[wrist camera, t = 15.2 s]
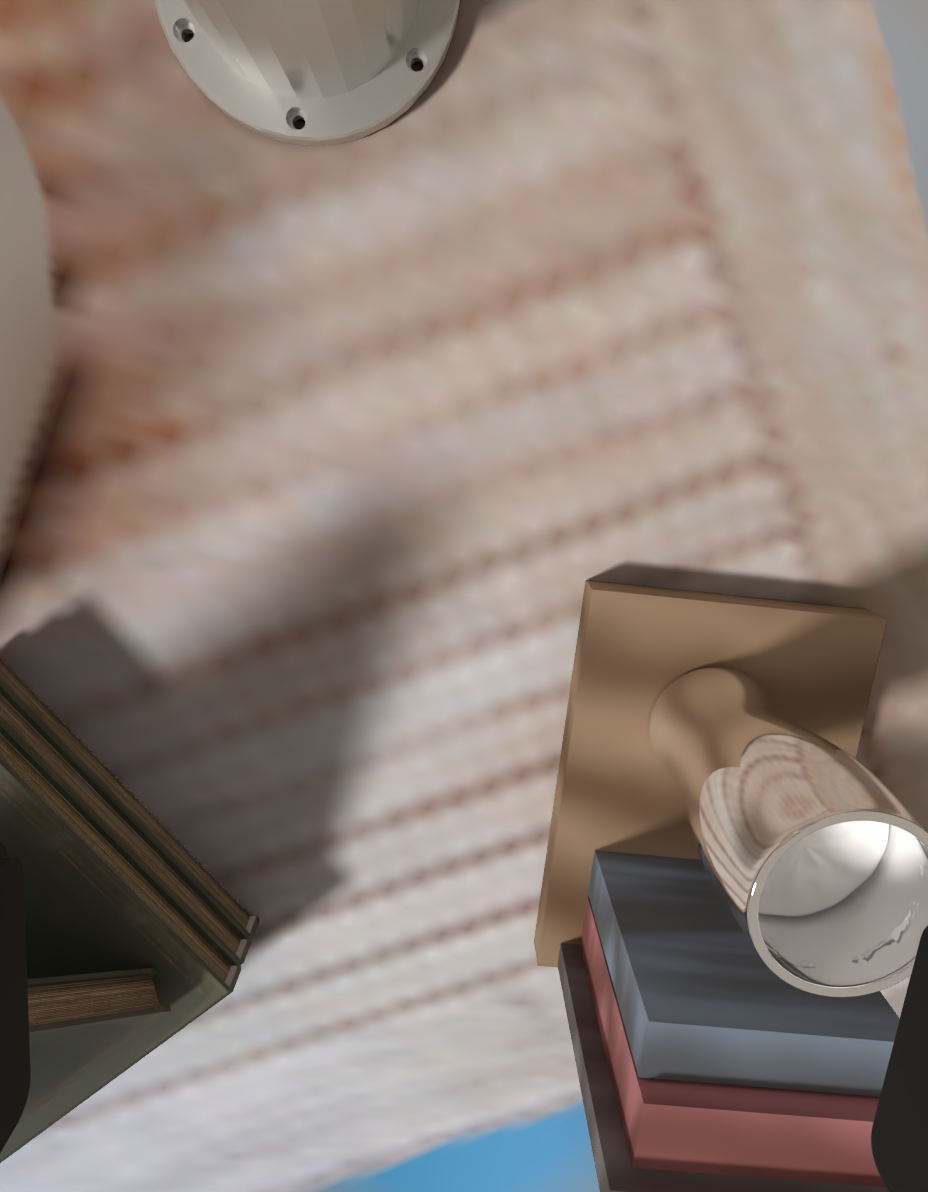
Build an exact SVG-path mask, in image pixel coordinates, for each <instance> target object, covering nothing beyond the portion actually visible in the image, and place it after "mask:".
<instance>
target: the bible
mask: <svg viewBox="0 0 928 1192" xmlns="http://www.w3.org/2000/svg"><path fill="white" fill-rule="evenodd" d="M0 843H2V844H3V845H4V846H5V848H6V850H7V853H8V857H13V858H18V859H19V860H20V861H21V863H22V866H23V873H24V901H25V929H26V958H27V986H28V1014H29V1043H30V1071H31V1079H30V1088H29V1094H28V1098H27V1102H26V1105H25V1108H24V1110H23V1113H22V1116H21V1118H20V1120H19V1122H18V1124H17V1125H16V1127H15V1129H14V1131H13V1132H12V1134H11V1136H10V1137H9V1139H8V1141H7V1143H6V1144H5V1146H4V1148H3V1150H2V1151H1V1153H0V1163H1V1162H2V1161H4V1160H5V1159H6V1158H8V1157H9V1156H10V1155H12V1154H13V1153H14V1152H16V1151H17V1150H19V1149H20V1148H21V1147H23V1146H24V1145H25V1144H27V1143H28V1142H29V1141H31V1140H32V1139H33V1138H35V1137H36V1136H38V1135H39V1134H40V1133H42V1132H43V1131H44V1130H46V1129H47V1128H48V1127H50V1126H51V1125H52V1124H54V1123H55V1122H56V1121H58V1120H59V1119H61V1118H62V1117H63V1116H65V1115H66V1114H67V1113H69V1112H70V1111H71V1110H73V1109H74V1108H75V1107H77V1106H78V1105H80V1104H81V1103H82V1102H84V1101H85V1100H86V1099H88V1098H89V1097H90V1096H92V1095H93V1094H94V1093H96V1092H97V1091H99V1090H100V1089H101V1088H103V1087H104V1086H105V1085H107V1084H108V1083H109V1082H111V1081H112V1080H113V1079H115V1078H116V1077H117V1076H119V1075H120V1074H122V1073H123V1072H124V1071H126V1070H127V1069H128V1068H130V1067H131V1066H132V1065H134V1064H135V1063H136V1062H138V1061H139V1060H141V1059H142V1058H143V1057H145V1056H146V1055H147V1054H149V1053H150V1052H151V1051H153V1050H154V1049H155V1048H157V1047H158V1046H159V1045H161V1044H162V1043H164V1042H165V1041H166V1040H168V1039H169V1038H170V1037H172V1036H173V1035H174V1034H176V1033H177V1032H178V1031H180V1030H181V1029H183V1028H184V1027H185V1026H187V1025H188V1024H189V1023H191V1022H192V1021H193V1020H195V1019H196V1018H197V1017H199V1016H200V1015H201V1014H203V1013H204V1012H206V1011H207V1010H208V1009H210V1008H211V1007H212V1006H214V1005H215V1004H216V1003H218V1002H219V1001H220V1000H222V999H223V998H225V997H226V996H227V995H229V994H230V993H231V992H233V990H234V987H235V984H236V982H237V979H238V976H239V974H240V971H241V966H240V965H241V964H243V963H244V960H245V957H246V955H247V952H248V949H249V947H250V944H251V941H250V939H251V938H252V937H253V936H254V933H255V930H256V928H257V925H258V922H259V919H258V917H257V916H250V915H249V914H248V913H247V912H246V911H245V910H244V909H243V908H242V907H241V906H240V905H239V904H238V903H237V902H236V901H235V900H234V899H233V898H232V897H231V896H230V895H229V894H228V893H227V892H226V891H225V890H224V889H223V888H222V887H221V886H220V885H219V884H218V883H217V882H216V880H215V879H214V878H213V877H212V876H211V875H210V874H209V873H208V872H207V871H206V870H205V869H204V868H203V867H202V866H201V865H200V864H199V863H198V862H197V861H196V860H195V859H194V858H193V857H192V856H191V855H190V854H189V853H188V852H187V851H186V850H185V849H184V848H183V847H182V846H181V845H180V844H179V842H178V841H177V840H176V839H175V838H174V837H173V836H172V835H171V834H170V833H169V832H168V831H167V830H166V829H165V828H164V827H163V826H162V825H161V824H160V823H159V822H158V821H157V820H156V819H155V818H154V817H153V816H152V815H151V814H150V813H149V812H148V811H147V810H146V809H145V808H144V807H143V805H142V804H141V803H140V802H139V801H138V800H137V799H136V798H135V797H134V796H133V795H132V794H131V793H130V792H129V791H128V790H127V789H126V788H125V787H124V786H123V785H122V784H121V783H120V782H119V781H118V780H117V779H116V778H115V777H114V776H113V775H112V774H111V773H110V772H109V771H108V770H107V769H106V767H105V766H104V765H103V764H102V763H101V762H100V761H99V760H98V759H97V758H96V757H95V756H94V755H93V754H92V753H91V752H90V751H89V750H88V749H87V748H86V747H85V746H84V745H83V744H82V743H81V742H80V741H79V740H78V739H77V738H76V737H75V736H74V735H73V734H72V733H71V732H70V730H69V729H68V728H67V727H66V726H65V725H64V724H63V723H62V722H61V721H60V720H59V719H58V718H57V717H56V716H55V715H54V714H53V713H52V712H51V711H50V710H49V709H48V708H47V707H46V706H45V705H44V704H43V703H42V702H41V701H40V700H39V699H38V698H37V697H36V696H35V695H34V694H33V692H32V691H31V690H30V689H29V688H28V687H27V686H26V685H25V684H24V683H23V682H22V681H21V680H20V679H19V678H18V677H17V676H16V675H15V674H14V673H13V672H12V671H11V670H10V669H9V668H8V667H7V666H6V665H5V664H4V663H3V662H2V661H1V660H0Z"/></svg>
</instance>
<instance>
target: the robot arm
mask: <svg viewBox="0 0 928 1192" xmlns="http://www.w3.org/2000/svg"><path fill="white" fill-rule="evenodd" d="M154 1H155V6H156V10H157V14H158V18H159V20H160V23H161V25H162V27H163V30H164V32H165V35H166V37H167V39H168V42H169V44H170V47H171V49H172V50H173V52H174V53H175V55H176V56H177V58H178V60H179V61H180V63H181V64H182V66H183V68H184V69H185V71H186V72H187V74H188V75H189V77H190V78H191V79H192V80H193V82H194V83H195V84H196V85H197V86H198V88H199V89H200V90H201V91H202V92H203V94H204V95H205V96H206V97H207V98H209V99H210V100H211V101H212V102H213V103H214V104H215V105H216V106H217V107H218V108H219V109H220V110H221V111H223V112H224V113H225V114H226V115H227V116H229V117H230V118H232V119H233V120H235V121H237V122H238V123H240V124H241V125H243V126H245V127H246V128H248V129H249V130H251V131H253V132H256V133H258V134H261V135H263V136H266V137H268V138H271V139H274V140H276V141H279V142H285V143H291V144H296V145H302V146H325V145H337V144H341V143H345V142H349V141H353V140H357V139H361V138H363V137H365V136H367V135H369V134H371V133H373V132H375V131H377V130H380V129H382V128H384V127H386V126H387V125H389V124H390V123H391V122H392V121H394V120H395V119H396V118H398V117H399V116H400V115H402V114H403V113H404V112H405V111H407V110H408V109H409V108H410V107H411V106H412V105H413V104H414V103H415V101H416V100H417V99H418V98H419V97H420V96H421V95H422V93H423V92H424V91H425V90H426V89H427V88H428V87H429V85H430V83H431V82H432V80H433V78H434V76H435V75H436V73H437V71H438V70H439V68H440V66H441V65H442V63H443V61H444V59H445V56H446V53H447V51H448V48H449V45H450V43H451V40H452V37H453V34H454V32H455V27H456V22H457V16H458V10H459V5H460V0H154ZM188 33H193V34H194V37H193V38H192V39H191V40H190V41H189V42H185V36H186V35H187V34H188ZM414 62H420V63H422V65H423V69H422V70H421V71H417V72H415V71H413V70H412V68H411V67H412V64H413V63H414ZM298 119H303V120H305V126H304V127H303V128H302V129H300V130H298V129H296V128H295V126H294V124H295V122H296V121H297V120H298ZM30 1079H31V1071H30V1043H29V1014H28V986H27V958H26V929H25V901H24V873H23V866H22V863H21V861H20V860H19V859H18V858H13V857H8V853H7V850H6V848H5V846H4V845H3V844H2V843H0V1153H1V1151H2V1150H3V1148H4V1146H5V1144H6V1143H7V1141H8V1139H9V1137H10V1136H11V1134H12V1132H13V1131H14V1129H15V1127H16V1125H17V1124H18V1122H19V1120H20V1118H21V1116H22V1113H23V1110H24V1108H25V1105H26V1102H27V1098H28V1094H29V1088H30ZM871 1147H872V1153H873V1158H874V1161H875V1164H876V1167H877V1170H878V1172H879V1174H880V1176H881V1178H882V1180H883V1182H884V1183H885V1185H886V1187H887V1189H888V1191H889V1192H928V926H927V927H926V928H925V929H924V930H923V933H922V935H921V938H920V942H919V946H918V950H917V954H916V958H915V961H914V965H913V969H912V973H911V977H910V981H909V985H908V989H907V993H906V997H905V1001H904V1005H903V1008H902V1012H901V1017H900V1020H899V1024H898V1028H897V1032H896V1036H895V1040H894V1044H893V1048H892V1052H891V1056H890V1059H889V1063H888V1067H887V1071H886V1075H885V1079H884V1083H883V1087H882V1091H881V1095H880V1099H879V1103H878V1107H877V1110H876V1114H875V1118H874V1122H873V1126H872V1132H871Z"/></svg>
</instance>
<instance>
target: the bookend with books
mask: <svg viewBox="0 0 928 1192" xmlns="http://www.w3.org/2000/svg"><path fill="white" fill-rule="evenodd" d="M886 622H887V619H885V618H883V617H881V616H879V615H877V614H875V613H873V612H871V611H869V610H867V609H858V608H849V607H839V606H829V605H820V604H810V603H800V602H790V601H781V600H771V599H761V598H752V597H742V596H732V595H723V594H713V593H703V592H693V591H684V590H674V589H664V588H655V587H645V586H635V585H626V584H616V583H606V582H596V581H587V580H586V583H585V590H584V597H583V604H582V611H581V618H580V625H579V632H578V639H577V646H576V653H575V660H574V667H573V674H572V681H571V688H570V695H569V702H568V709H567V716H566V722H565V729H564V736H563V743H562V750H561V757H560V764H559V771H558V778H557V785H556V792H555V799H554V806H553V813H552V820H551V827H550V834H549V841H548V848H547V855H546V862H545V869H544V876H543V883H542V890H541V897H540V904H539V911H538V918H537V925H536V932H535V939H534V944H535V950H536V957H537V964H538V966H550V967H558V969H559V974H560V980H561V985H562V991H563V996H564V1001H565V1007H566V1012H567V1017H568V1023H569V1028H570V1033H571V1039H572V1044H573V1049H574V1055H575V1060H576V1065H577V1071H578V1076H579V1081H580V1087H581V1092H582V1097H583V1103H584V1108H585V1113H586V1118H587V1124H588V1129H589V1135H590V1140H591V1145H592V1151H593V1156H594V1162H595V1167H596V1172H597V1178H598V1183H599V1188H600V1192H889V1191H888V1189H887V1187H886V1185H885V1183H884V1182H883V1180H882V1178H881V1176H880V1174H879V1172H878V1170H877V1167H876V1164H875V1161H874V1158H873V1153H872V1147H871V1132H872V1126H873V1122H874V1118H875V1114H876V1110H877V1107H878V1103H879V1099H880V1095H881V1091H882V1087H883V1083H884V1079H885V1075H886V1071H887V1067H888V1063H889V1059H890V1056H891V1052H892V1048H893V1044H894V1040H895V1036H896V1032H897V1028H898V1024H899V1020H900V1019H899V1017H898V1016H897V1015H896V1013H895V1012H894V1010H893V1009H892V1007H891V1006H890V1005H889V1003H888V1002H887V1000H886V999H885V998H884V996H883V995H882V994H881V992H880V991H877V992H874V993H870V994H866V995H861V996H854V997H828V996H821V995H816V994H812V993H809V992H806V991H803V990H800V989H798V988H796V987H794V986H792V985H790V984H788V983H786V982H785V981H783V980H782V979H781V978H779V977H778V976H777V975H776V974H774V973H773V972H772V971H771V970H770V969H769V968H768V967H767V966H766V964H765V963H764V962H763V961H762V959H761V958H760V956H759V955H758V953H757V951H756V949H755V947H754V945H753V944H752V942H751V941H750V940H749V938H748V937H747V936H746V934H745V933H744V931H743V930H742V929H741V927H740V926H739V924H738V923H737V921H736V920H735V919H734V917H733V916H732V914H731V913H730V911H729V910H728V908H727V907H726V905H725V903H724V902H723V900H722V898H721V897H720V895H719V893H718V892H717V890H716V888H715V887H714V885H713V883H712V881H711V879H710V877H709V875H708V873H707V871H706V869H705V867H704V865H703V862H702V860H701V858H700V856H699V853H698V850H697V847H696V844H695V840H694V837H693V834H692V830H691V827H690V822H689V817H688V812H687V808H686V803H685V797H684V792H683V788H682V785H681V784H680V783H679V782H678V781H677V780H675V779H674V778H673V777H672V776H671V775H669V774H668V773H667V772H666V771H665V770H664V769H663V767H662V766H661V765H660V764H659V762H658V761H657V759H656V757H655V756H654V753H653V751H652V748H651V745H650V741H649V720H650V715H651V712H652V709H653V707H654V704H655V703H656V701H657V699H658V697H659V696H660V695H661V693H662V692H663V691H664V690H665V689H666V688H667V687H668V686H669V685H670V684H671V683H672V682H673V681H675V680H676V679H677V678H679V677H681V676H682V675H684V674H686V673H688V672H691V671H694V670H697V669H701V668H707V667H724V668H730V669H734V670H737V671H740V672H742V673H744V674H746V675H748V676H750V677H751V678H753V679H754V680H755V681H756V682H758V683H759V684H760V685H761V687H762V688H763V689H764V690H765V691H766V693H767V694H768V696H769V697H770V699H771V701H772V703H773V705H774V707H775V709H776V711H777V713H778V715H779V716H781V717H782V718H784V719H786V720H788V721H790V722H793V723H795V724H797V725H799V726H801V727H803V728H805V729H807V730H809V731H811V732H813V733H815V734H817V735H819V736H821V737H823V738H824V739H826V740H828V741H829V742H831V743H833V744H834V745H836V746H838V747H839V748H841V749H843V750H844V751H846V752H847V753H849V754H850V755H851V756H852V757H854V758H855V759H856V754H857V750H858V745H859V741H860V737H861V732H862V728H863V723H864V719H865V715H866V710H867V706H868V701H869V697H870V693H871V688H872V684H873V679H874V675H875V671H876V666H877V662H878V657H879V653H880V648H881V644H882V640H883V635H884V631H885V626H886Z"/></svg>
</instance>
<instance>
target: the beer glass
mask: <svg viewBox="0 0 928 1192" xmlns="http://www.w3.org/2000/svg"><path fill="white" fill-rule="evenodd" d="M649 741H650V745H651V748H652V751H653V753H654V756H655V757H656V759H657V761H658V762H659V764H660V765H661V766H662V767H663V769H664V770H665V771H666V772H667V773H668V774H669V775H671V776H672V777H673V778H674V779H675V780H677V781H678V782H679V783H680V784H681V785H682V788H683V792H684V797H685V803H686V808H687V812H688V817H689V822H690V827H691V830H692V834H693V837H694V840H695V844H696V847H697V850H698V853H699V856H700V858H701V860H702V862H703V865H704V867H705V869H706V871H707V873H708V875H709V877H710V879H711V881H712V883H713V885H714V887H715V888H716V890H717V892H718V893H719V895H720V897H721V898H722V900H723V902H724V903H725V905H726V907H727V908H728V910H729V911H730V913H731V914H732V916H733V917H734V919H735V920H736V921H737V923H738V924H739V926H740V927H741V929H742V930H743V931H744V933H745V934H746V936H747V937H748V938H749V940H750V941H751V942H752V944H753V945H754V947H755V949H756V951H757V953H758V955H759V956H760V958H761V959H762V961H763V962H764V963H765V964H766V966H767V967H768V968H769V969H770V970H771V971H772V972H773V973H774V974H776V975H777V976H778V977H779V978H781V979H782V980H783V981H785V982H786V983H788V984H790V985H792V986H794V987H796V988H798V989H800V990H803V991H806V992H809V993H812V994H816V995H821V996H828V997H854V996H861V995H866V994H870V993H874V992H877V991H880V990H883V989H886V988H888V987H890V986H893V985H895V984H897V983H899V982H900V981H902V980H904V979H905V978H907V977H909V976H910V975H911V973H912V969H913V965H914V961H915V958H916V954H917V950H918V946H919V942H920V938H921V935H922V933H923V930H924V929H925V928H926V927H927V926H928V832H927V831H926V830H925V829H924V828H923V827H922V826H921V825H920V824H919V822H918V821H917V820H916V819H915V818H914V816H913V815H912V814H911V813H910V812H909V811H908V810H907V808H906V807H905V806H904V805H903V804H902V803H901V802H900V801H899V799H898V798H897V797H896V796H895V795H894V794H893V793H892V792H891V791H890V790H889V789H888V788H887V787H886V786H885V785H884V784H883V783H882V782H881V781H880V780H879V779H878V778H877V777H876V776H875V775H874V774H873V773H872V772H871V771H870V770H868V769H867V768H866V767H865V766H863V765H862V764H861V763H860V762H858V761H857V760H856V759H855V758H854V757H852V756H851V755H850V754H849V753H847V752H846V751H844V750H843V749H841V748H839V747H838V746H836V745H834V744H833V743H831V742H829V741H828V740H826V739H824V738H823V737H821V736H819V735H817V734H815V733H813V732H811V731H809V730H807V729H805V728H803V727H801V726H799V725H797V724H795V723H793V722H790V721H788V720H786V719H784V718H782V717H781V716H779V715H778V713H777V711H776V709H775V707H774V705H773V703H772V701H771V699H770V697H769V696H768V694H767V693H766V691H765V690H764V689H763V688H762V687H761V685H760V684H759V683H758V682H756V681H755V680H754V679H753V678H751V677H750V676H748V675H746V674H744V673H742V672H740V671H737V670H734V669H730V668H724V667H707V668H701V669H697V670H694V671H691V672H688V673H686V674H684V675H682V676H681V677H679V678H677V679H676V680H675V681H673V682H672V683H671V684H670V685H669V686H668V687H667V688H666V689H665V690H664V691H663V692H662V693H661V695H660V696H659V697H658V699H657V701H656V703H655V704H654V707H653V709H652V712H651V715H650V720H649Z"/></svg>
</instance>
